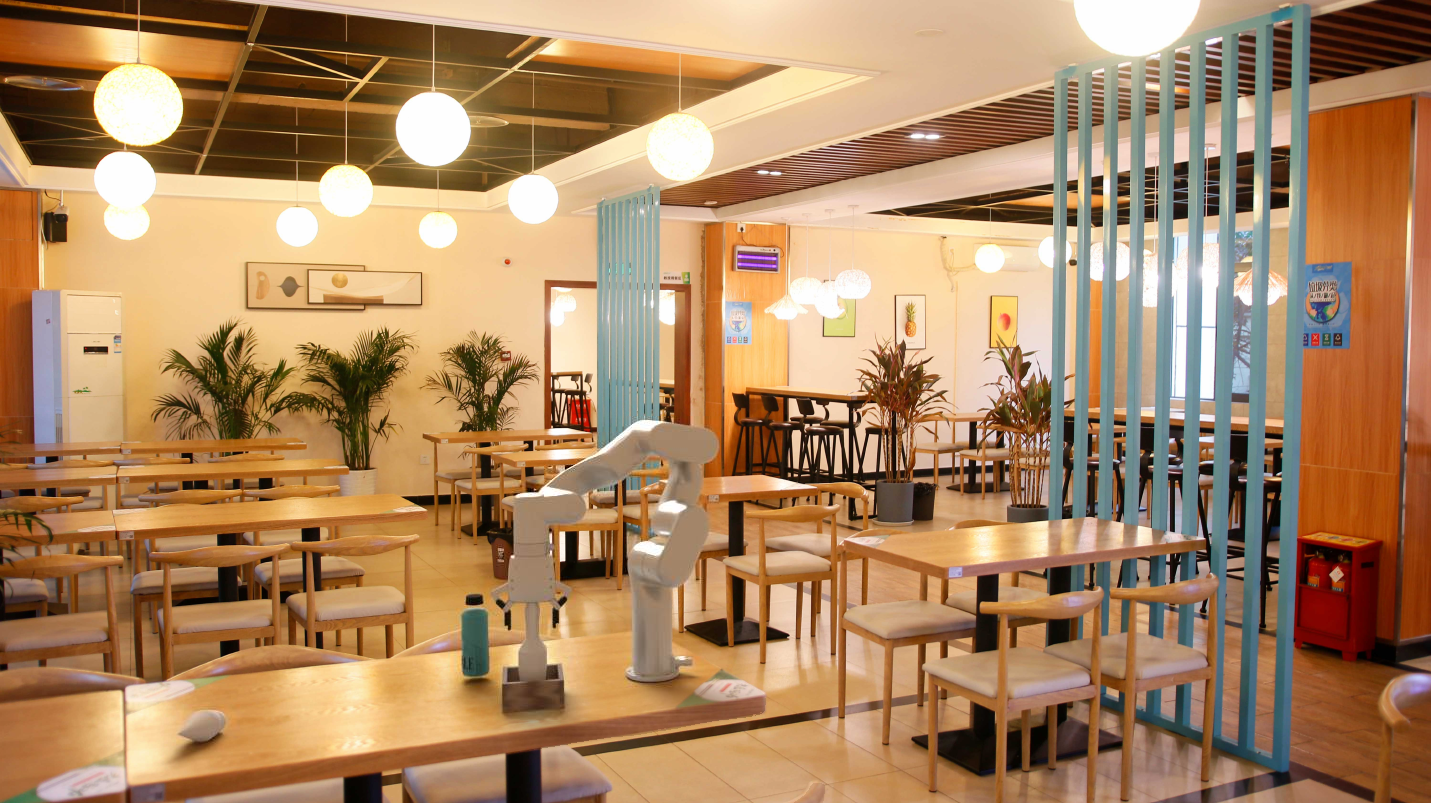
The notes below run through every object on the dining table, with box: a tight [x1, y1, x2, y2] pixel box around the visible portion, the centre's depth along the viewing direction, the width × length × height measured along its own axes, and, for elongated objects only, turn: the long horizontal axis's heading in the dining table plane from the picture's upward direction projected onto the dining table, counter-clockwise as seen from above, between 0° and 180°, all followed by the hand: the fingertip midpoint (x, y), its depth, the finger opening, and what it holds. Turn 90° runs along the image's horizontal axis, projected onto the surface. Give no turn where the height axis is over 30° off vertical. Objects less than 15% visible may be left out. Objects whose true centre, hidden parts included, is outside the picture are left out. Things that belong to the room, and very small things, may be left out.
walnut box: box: [501, 662, 565, 713], centre depth 223 cm, size 13×13×6 cm
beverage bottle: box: [460, 593, 491, 678], centre depth 238 cm, size 6×7×20 cm
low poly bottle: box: [517, 602, 548, 682], centre depth 222 cm, size 6×6×22 cm
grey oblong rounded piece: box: [177, 709, 227, 743], centre depth 198 cm, size 6×6×15 cm
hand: (531, 627), depth 222 cm, fingers open, 9 cm apart
